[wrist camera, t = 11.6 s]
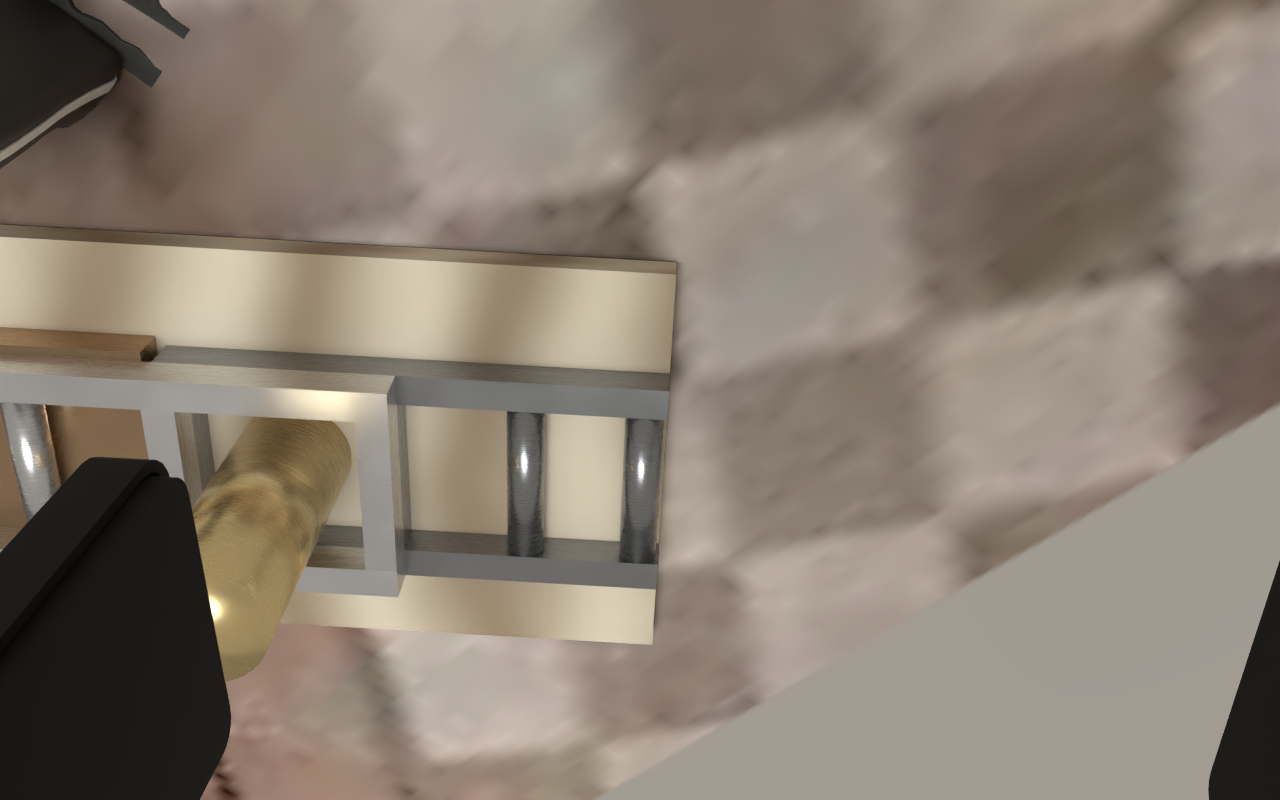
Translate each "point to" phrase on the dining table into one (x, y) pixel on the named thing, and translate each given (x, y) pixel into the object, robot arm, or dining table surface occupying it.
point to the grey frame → (526, 405)
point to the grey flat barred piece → (186, 432)
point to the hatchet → (127, 52)
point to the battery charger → (47, 73)
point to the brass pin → (265, 527)
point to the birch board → (395, 328)
